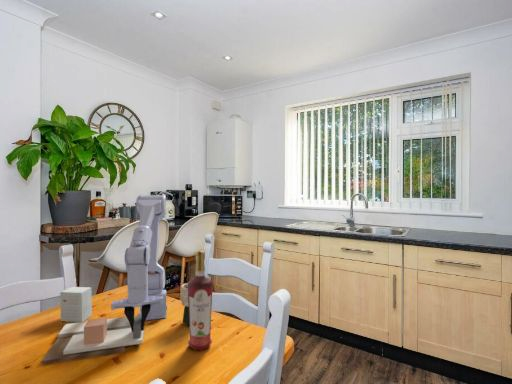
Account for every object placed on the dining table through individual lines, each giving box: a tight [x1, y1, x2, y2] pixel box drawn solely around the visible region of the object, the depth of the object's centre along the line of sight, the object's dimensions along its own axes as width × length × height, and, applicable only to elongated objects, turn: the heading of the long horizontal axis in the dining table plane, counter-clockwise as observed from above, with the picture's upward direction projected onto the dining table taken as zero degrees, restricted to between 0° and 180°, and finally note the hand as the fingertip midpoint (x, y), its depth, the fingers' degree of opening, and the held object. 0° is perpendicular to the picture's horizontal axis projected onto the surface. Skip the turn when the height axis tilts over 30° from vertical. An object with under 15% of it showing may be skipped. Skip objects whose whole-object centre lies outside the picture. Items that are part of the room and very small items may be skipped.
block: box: [84, 317, 108, 345], centre depth 86 cm, size 5×5×5 cm
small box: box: [59, 286, 93, 323], centre depth 104 cm, size 8×6×10 cm
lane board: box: [41, 316, 131, 365], centre depth 90 cm, size 20×21×2 cm
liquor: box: [187, 250, 214, 351], centre depth 86 cm, size 7×7×28 cm
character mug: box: [180, 282, 189, 325], centre depth 101 cm, size 11×7×13 cm, turn 164°
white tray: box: [63, 315, 145, 355], centre depth 87 cm, size 20×9×5 cm, turn 107°
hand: (137, 329), depth 89 cm, fingers closed on white tray, 2 cm apart
